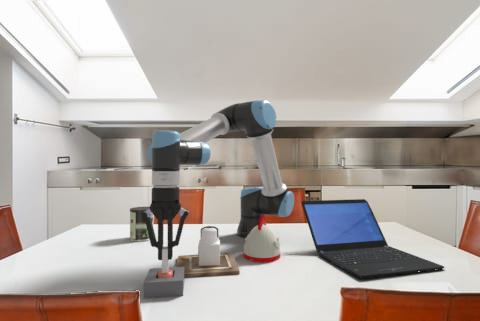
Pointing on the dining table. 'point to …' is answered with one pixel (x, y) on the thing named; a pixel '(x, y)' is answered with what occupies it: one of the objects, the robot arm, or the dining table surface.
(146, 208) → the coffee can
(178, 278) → the block
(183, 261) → the picture board
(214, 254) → the medicine bottle
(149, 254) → the dining table surface
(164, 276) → the button
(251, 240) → the kitchen timer
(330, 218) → the laptop
